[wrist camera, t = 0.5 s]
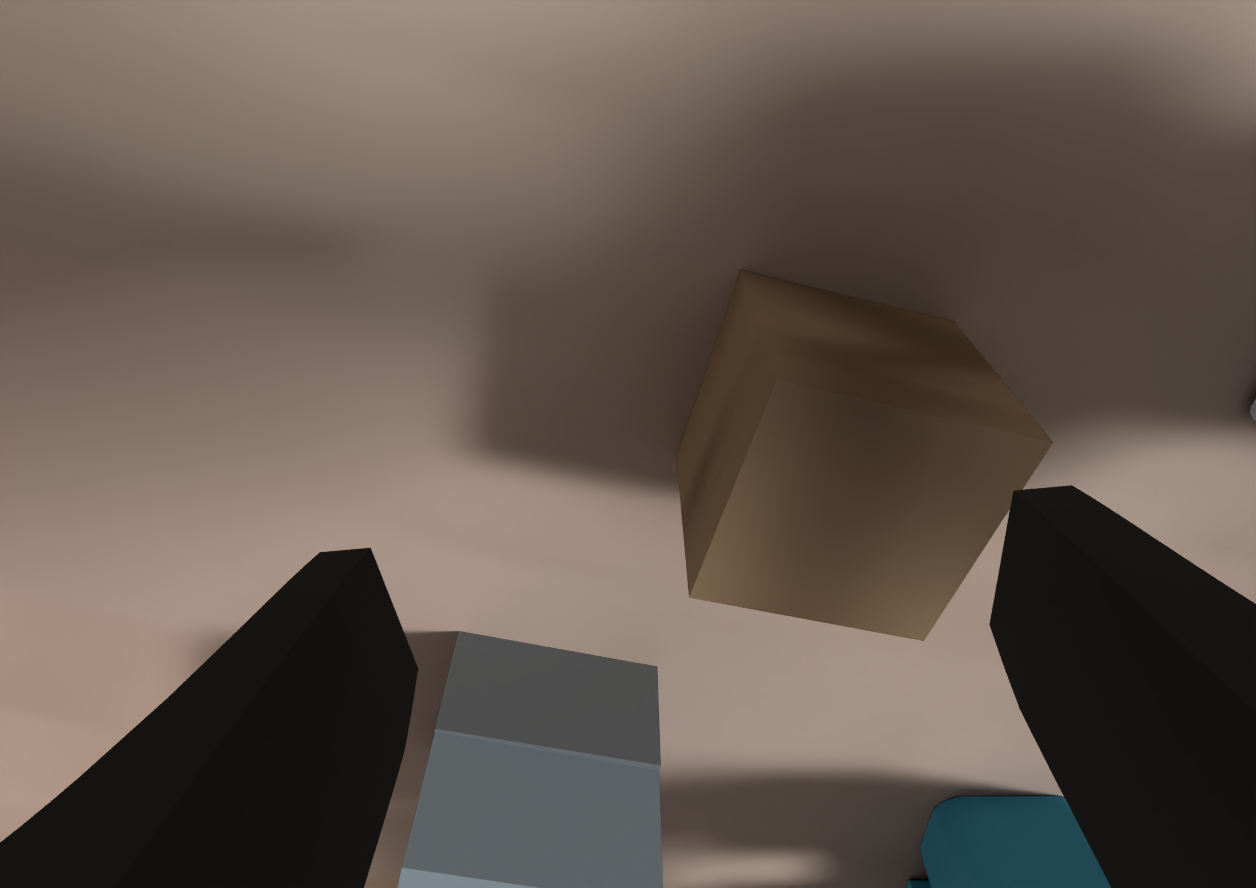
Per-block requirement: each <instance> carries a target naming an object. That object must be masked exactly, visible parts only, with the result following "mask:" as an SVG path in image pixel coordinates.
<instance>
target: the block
mask: <svg viewBox="0 0 1256 888" xmlns="http://www.w3.org/2000/svg"><path fill="white" fill-rule="evenodd" d="M920 851H921V856H922V859H923V862H924V865H925V869H926V872H927V875H928V878H929V880H909V881H908V883H907V885H906V888H1111V887H1110V885H1109V883H1108V881H1107V879H1106V877H1105V875H1104V873H1103V871H1102V869H1101V867H1100V865H1099V863H1098V861H1097V859H1096V858H1095V856H1094V854H1093V852H1092V850H1091V848H1090V846H1089V844H1088V842H1087V840H1086V838H1085V836H1084V834H1083V832H1082V830H1081V828H1080V826H1079V825H1078V823H1077V821H1076V819H1075V817H1074V815H1073V813H1072V811H1071V809H1070V807H1069V805H1068V803H1067V801H1066V799H1065V798H1064V797H1060V796H963V797H956V798H952V799H949V800H947V801H944V802H942V803H941V804H939V805H938V806H937V807H936V808H935V809H934V810H933V812H932V814H931V817H930V819H929V822H928V825H927V828H926V831H925V834H924V837H923V839H922V842H921V846H920Z"/></svg>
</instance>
